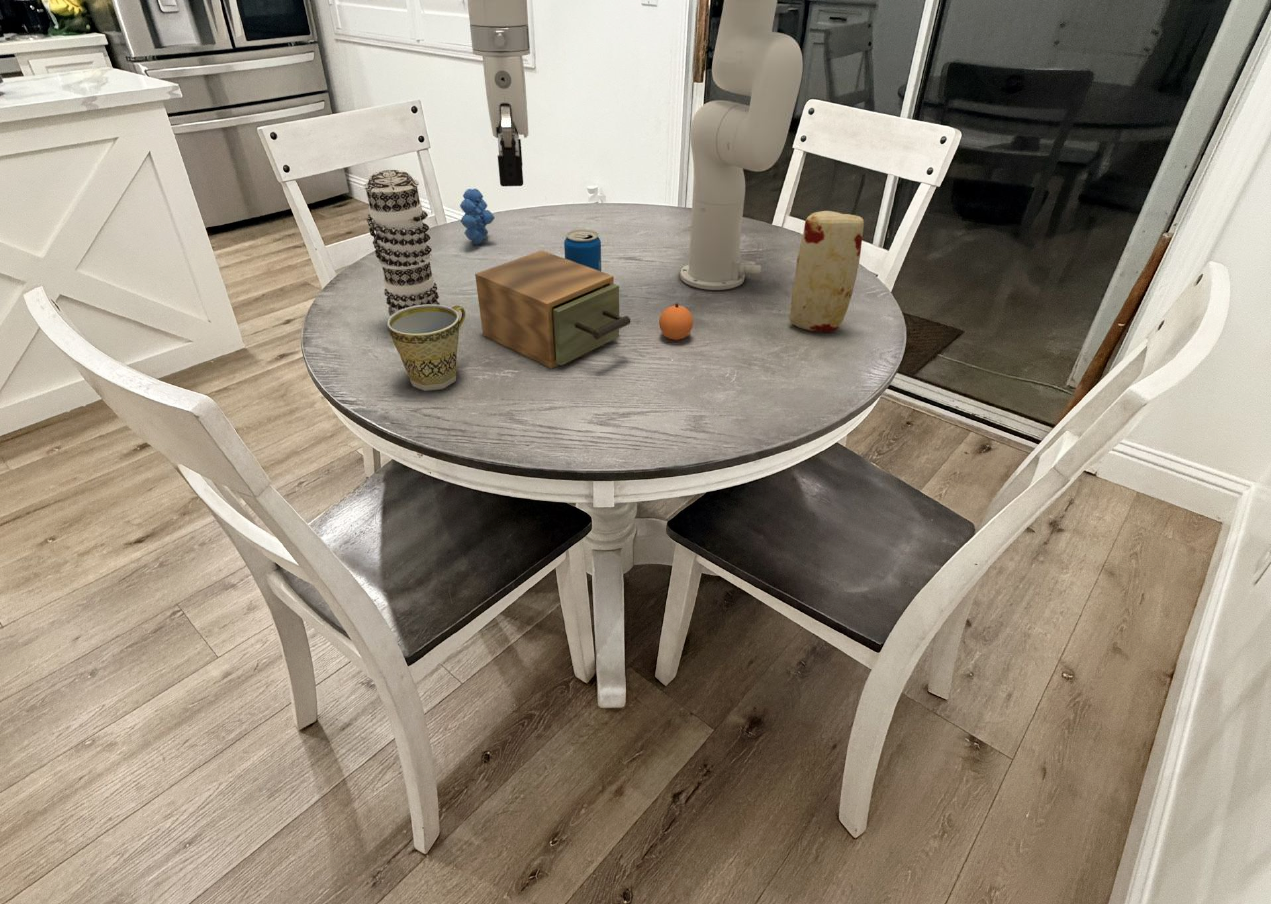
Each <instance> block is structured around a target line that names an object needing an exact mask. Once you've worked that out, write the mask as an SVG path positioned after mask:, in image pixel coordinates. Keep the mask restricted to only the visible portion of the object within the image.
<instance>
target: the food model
mask: <svg viewBox="0 0 1271 904" xmlns="http://www.w3.org/2000/svg"><path fill="white" fill-rule="evenodd" d="M864 225H865V221H864V218H863V217H861V216H859V215H855V214H849V213H841V212H837V211H832V210H822V211H816V212H812V213H811V214H810V215H809V216H807V218H806V219H805V222H804V225H803V226H804V227H803V233H802V237H801V240H800V243H799V249H798V254H797V259H796V266H795V273H794V279H793V284H792V290H791V303H790V304H791V305H790V311H789V320H788V321H789V322H790V323H791V324H792V325H794V326H795V327H798V328H800V329H803V330H808V331H812V332H819V333H829V334H831V333H834V332H836V331H837V330H838V329H839V328H840V326H841V324H842V323H843V321H844V318H845V317H846V313H847V311H848V308H849V305H850V304H851V303H850V302H851V299H852V295H853V292H854V288H855V284H856V282H857V281H856V280H857V277H858V276H857V275H858V270H859V265H860V259H861V253H862V245H863V244H862V243H863V237H864Z"/></svg>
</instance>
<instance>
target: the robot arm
mask: <svg viewBox="0 0 1271 904" xmlns="http://www.w3.org/2000/svg"><path fill="white" fill-rule="evenodd" d="M466 2H467V9H468V10H467V11H468V20H469V30H470V31H469V32H470V40H471V48H472V54H473V55H475V56H479V57H482V65H483V76H484V85H485V86H484V87H485V94H486V103H487V108H488V115H489V121H490V126H491V132H492V136H493V137H494V138H496V139H497V145H498V148H497V149H498V155H497V164H498V165H497V166H498V174H499V175H498V176H499V184H500V186H501V187H522V186H523V185H524V174H523V153H522V139H521V138H520V136H523V138H524V139H526V138H528V136H529V135H530V134H529V117H528V116H529V115H528V101H527V100H528V99H527V87H526V74H525V67H524V66H525V65H524V59H523V56H528V55H530V54H531V45H530V43H531V42H530V29H529V14H528V0H466ZM777 5H778V0H723V5H722V11H721V16H720V22H719V27H718V33H717V36H716V41H715V45H714V52H713V58H712V65H711V77H712V79H713V82H714V83H715V85H716V86H717V87H718V88H720V89H721V90H723V91H727V92H729V93H733V94H736V95H741V96H746V97H750V101H749V105H747V104H743V103H739V102H736V101H735V102H734V101H731V100H722V99H718V100H711V101H708V102H706V103H704V104H703V105H701V106H700V107H699V108H698V110H697V111H696V112H695V114H694V115H693V117H692V121H691V124H690V131H689V135H690V137H689V138H690V147H691V155H692V165H693V166H692V167H693V169H692V170H693V179H692V180H693V181H692V199H691V201H692V202H691V203H692V204H691V218H690V219H691V220H690V236H689V253H688V254H689V256H688V264H686V265H685V266H683V267H682V268H681V269H680V273H679V276H680V277H679V278H680V279H681V281H682V282H683V283H684V284H686V285H687V286H690V287H693V288H695V289H700V290H707V291H725V290H730V289H734V288H737V287H739V286H741V285H742V284H743V283H744V281H745V278H746V277H745V275H751V276H758V277H759V276H761V273H762V265H759V264H756V261H751V260H749V261H746V260H744V259H742V253H741V252H740V246H741V237H742V236H741V235H742V228H743V227H742V226H743V217H744V216H743V215H744V207H745V199H746V198H745V197H746V178H745V173H744V170H747V171H751V172H756V173H757V172H764V171H767V170H769V169H770V168H772V167H773V166H774V165H775V164H776V162H777V161H778V160H779V158H780V156H781V154H782V152H783V150H784V147H785V144H786V141H787V138H788V134H789V130H790V126H791V122H792V118H793V114H794V111H795V106H796V102H797V99H798V95H799V91H800V88H801V82H802V78H803V71H804V70H803V67H804V63H803V54H802V50H801V48H800V45H799V43H798V42H797V40H796V39H794V38H793V37H792V36H790V35H788V34H785V33H781V32H777V31H773V27H774V20H775V14H776V11H777V10H776V9H777ZM519 135H520V136H519Z"/></svg>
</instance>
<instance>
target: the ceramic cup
mask: <svg viewBox="0 0 1271 904" xmlns="http://www.w3.org/2000/svg"><path fill="white" fill-rule="evenodd" d="M459 311H460V312H461V316H460V314H459V313H458V312H459ZM465 320H466V311H465V309H464V307H463V306H461V305H454V306H448V305H443V304H440V305H436V304H425V305H417V306H412V307H408V308H405V309H402V310H399V311H397V312H396V313H394V314H393V315H391V316H390V315H389V317H388V319H387V321H386V326H387V330H388V332H389V335H390V337H391V340H392V342H393V344H394V347H395V349H396V351H397V353H398V354H399V356H400V359H401V362H402V364H403V366H404V368H405V372H406V374H407V376H408V379H409V381H410V383H411V385H412V387H414V388H417V389H419V390H421V391H425V392H426V391H427V392H428V391H436V390H437V391H438V390H444V389H445V388H447V387H448V386H451V385H452V384H454V383H455V382H456V381H457V358H458V355H457V354H458V344H459V337H460V329H461V328H462V325H464V322H465Z"/></svg>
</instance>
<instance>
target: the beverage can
mask: <svg viewBox="0 0 1271 904" xmlns="http://www.w3.org/2000/svg"><path fill="white" fill-rule="evenodd" d="M563 247H564V248H563V249H564V258H565V259H567V260H570V261H573V262H576V263H579V264H581V265H584V266H587V267H590V268H592V269H595V270H598V271H601V272H602V240H601V239H600V237H599V233H598V232H596V231H595V230H591V229H574V230H570V231H568V232H566V234H565V239H564V241H563Z"/></svg>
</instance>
